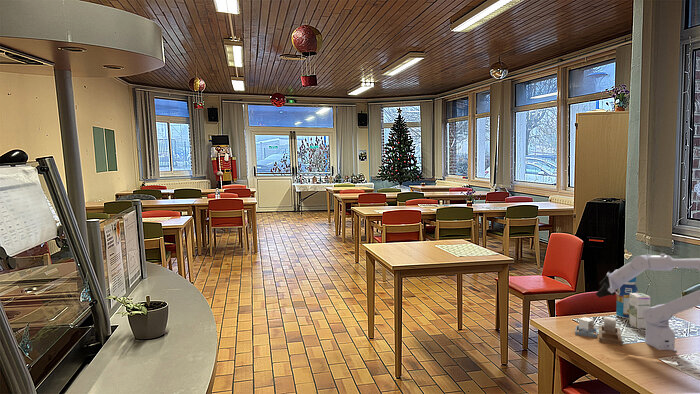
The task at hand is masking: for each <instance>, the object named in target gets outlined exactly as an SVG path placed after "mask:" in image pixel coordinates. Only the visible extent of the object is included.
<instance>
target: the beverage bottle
mask: <svg viewBox="0 0 700 394" xmlns="http://www.w3.org/2000/svg"><path fill="white" fill-rule="evenodd" d="M636 282H637V276H636V277H634V278H633V279H631V280H630V281H628V282H626V283H625V284H623V285H622V286H621V287H619V288H618V289H616V291H615V292H616V294H615V295H616V307H615V308H616V311H615V315H616V316H617V317H618V316H619V318H621V317H622V319H624V318H626V320H629V297H630V293H638V291H639V290H638V287H637V285H636Z"/></svg>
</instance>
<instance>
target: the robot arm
mask: <svg viewBox="0 0 700 394" xmlns="http://www.w3.org/2000/svg"><path fill="white" fill-rule="evenodd" d="M675 268H680V269H681V268H682V269H696V270H698V271H699V272H700V257H697V258H696V257H695V258H689V257H688V258H674V257H672V256H671V255H667V253H660V254H659V255H658V254H657V255H652V254H651V253H650V254H642V255H636V256H633V258H632V259H631V261H629V262H627V263H626V264H624V265H623V266H621V267H620V268H618V269H614V271H613V272H612V271H610V270H608V271H607V273H606V275H605V277H604V278H603V279H602V280H601V281H600V282H599V286H600V289H598V291H597V292H595V295H596V296H597V297H598V298H603V297H608V296H615V295H616V292H617V289H618V288H619V287H621V286H622V285H623V284H625V283H626V282H628V281H630V280H631V279H633V278H634V277H636V278H637V277H638V276H639V275H641V274H642V273H643V272H645V271H646V270H647V271H648V270H650V271H662V272H666V271H669V272H671V271H672V270H673V269H675ZM697 306H700V289H698V290H696V291H693V292H691V293H688V294H685V295H684V296H681V297H678V298H676V299H673V300H671V301H669V302H667V303H659V304H657V305H654V306H650V307H648V308H646V309H644V311H643V318H644V319H645V320H646V328H645V338H644V339H645V342H644V343H645V344H647V345H648V346H651V347H653V348H655V349H657V350H658V351H661V350H662V351H663V350H664V351H673V352H677V351H678V350H677V349H676V348H675V342H676V334H675V332H674V331H673V330H672V329H671V327H670V322H669V321H670V320H671V319H672V318H673V317H674V316H675V315H677V314H679V313H682V312H685V311H688V310H690V309H693V308H695V307H697Z"/></svg>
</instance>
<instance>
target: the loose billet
mask: <svg viewBox="0 0 700 394" xmlns="http://www.w3.org/2000/svg"><path fill="white" fill-rule="evenodd" d="M578 326H579V329H578V332H584V333H591V334H595V332H594V328H595V320H594V319H593V318H589V317H586V316H583V317H581V318H578Z"/></svg>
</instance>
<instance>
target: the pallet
mask: <svg viewBox="0 0 700 394" xmlns="http://www.w3.org/2000/svg"><path fill="white" fill-rule="evenodd" d="M598 341H599V342H600V343H604V344H609V345H617V346H622V345H623V341H622V334H621V328H620V327H616V333H615V332H608V331H604V325H601V324H598Z"/></svg>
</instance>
